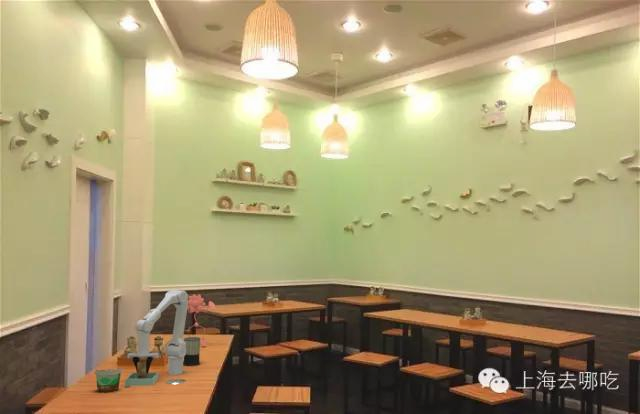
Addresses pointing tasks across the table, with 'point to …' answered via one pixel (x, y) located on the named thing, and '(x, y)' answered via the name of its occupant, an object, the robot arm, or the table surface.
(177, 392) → the table surface
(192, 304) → the pink flower branch
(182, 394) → the table surface
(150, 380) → the teal bin
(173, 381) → the steel base plate
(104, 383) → the food container
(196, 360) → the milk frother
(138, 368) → the brown wooden block
